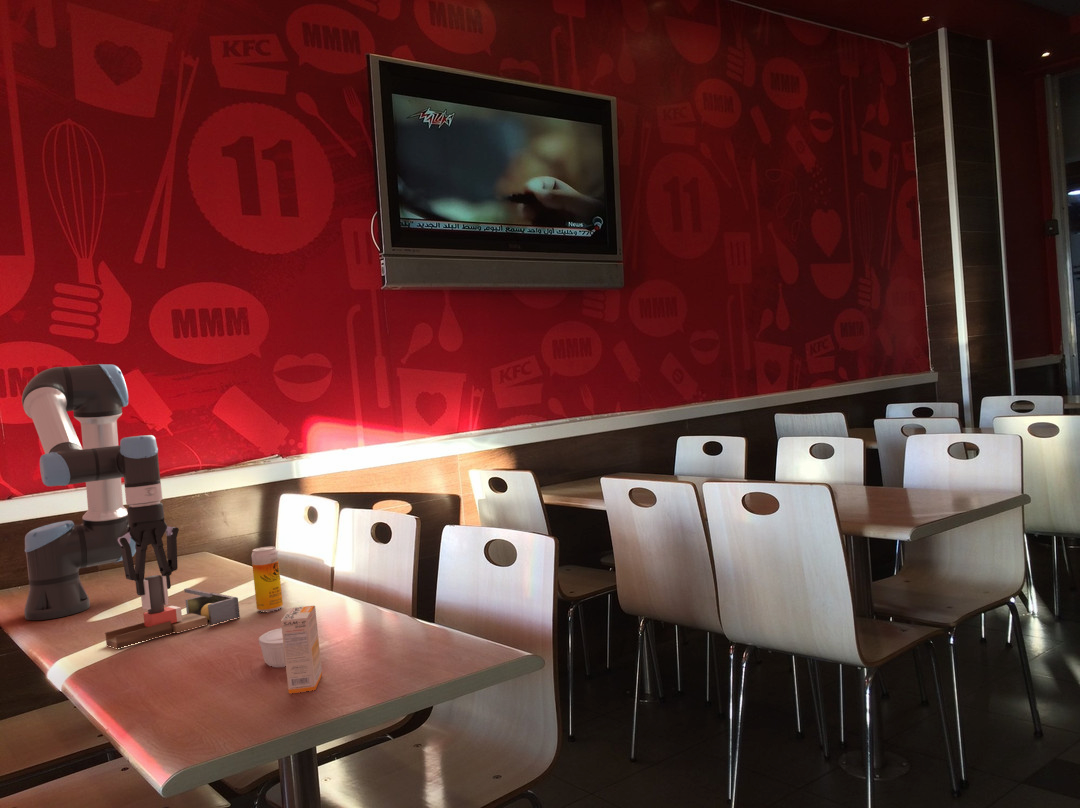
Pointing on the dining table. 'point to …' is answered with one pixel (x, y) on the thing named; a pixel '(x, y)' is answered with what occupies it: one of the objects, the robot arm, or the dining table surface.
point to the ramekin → (273, 648)
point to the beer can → (267, 579)
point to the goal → (213, 605)
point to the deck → (189, 622)
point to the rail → (136, 634)
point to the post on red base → (159, 605)
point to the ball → (205, 611)
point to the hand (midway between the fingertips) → (155, 606)
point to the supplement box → (301, 649)
